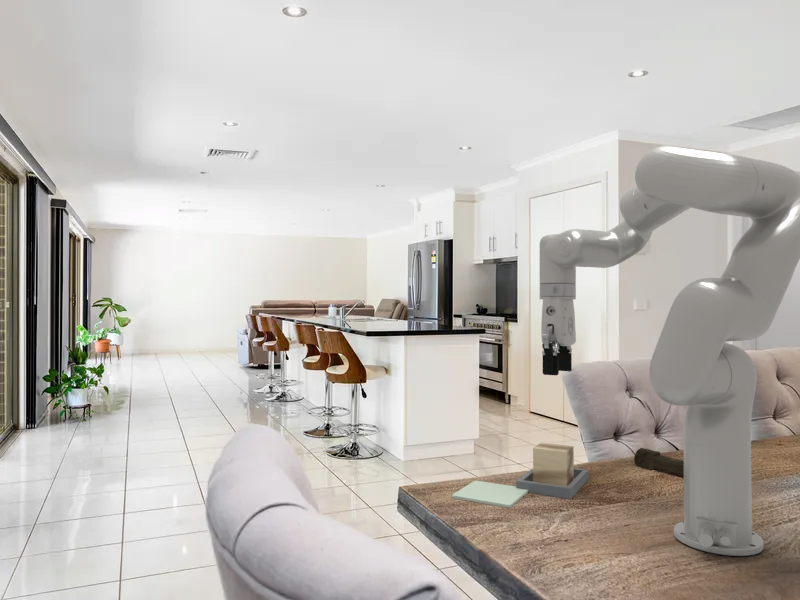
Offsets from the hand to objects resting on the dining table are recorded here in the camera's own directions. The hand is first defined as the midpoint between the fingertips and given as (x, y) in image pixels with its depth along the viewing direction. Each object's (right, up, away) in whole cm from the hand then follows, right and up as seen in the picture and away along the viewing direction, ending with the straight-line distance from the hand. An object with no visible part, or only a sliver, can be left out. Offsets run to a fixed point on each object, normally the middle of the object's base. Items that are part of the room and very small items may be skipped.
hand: (557, 372), depth 126 cm
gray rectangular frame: (-1, -24, -1) cm, 24 cm away
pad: (-15, -23, -8) cm, 29 cm away
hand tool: (+28, -24, +8) cm, 38 cm away
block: (-1, -24, -1) cm, 24 cm away
